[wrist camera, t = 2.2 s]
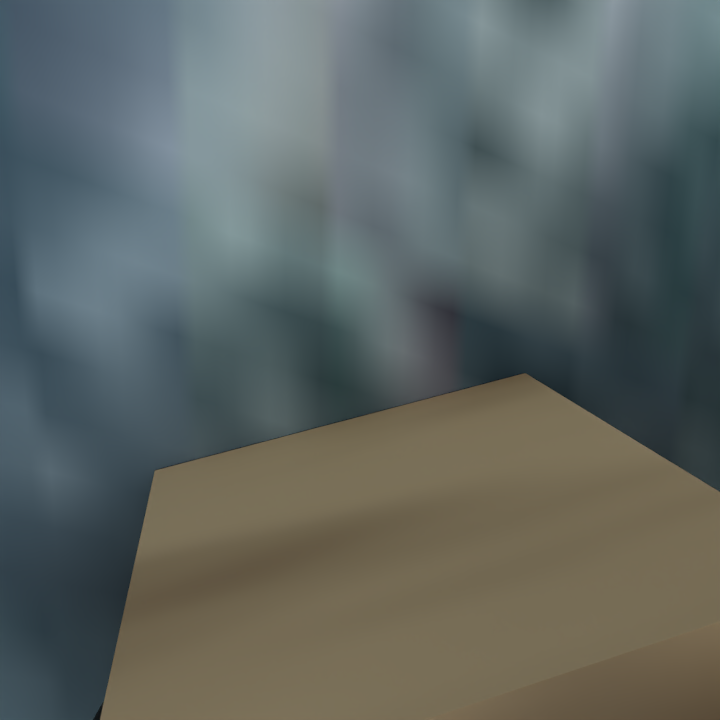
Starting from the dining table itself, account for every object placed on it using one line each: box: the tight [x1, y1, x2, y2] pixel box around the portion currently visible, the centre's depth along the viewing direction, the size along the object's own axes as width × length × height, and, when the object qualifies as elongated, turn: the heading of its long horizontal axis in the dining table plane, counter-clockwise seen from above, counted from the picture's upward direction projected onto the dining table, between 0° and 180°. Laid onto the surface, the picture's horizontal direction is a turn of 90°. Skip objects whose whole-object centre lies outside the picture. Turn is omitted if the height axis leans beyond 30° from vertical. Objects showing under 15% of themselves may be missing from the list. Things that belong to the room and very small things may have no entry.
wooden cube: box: [100, 373, 720, 720], centre depth 7 cm, size 5×5×5 cm
